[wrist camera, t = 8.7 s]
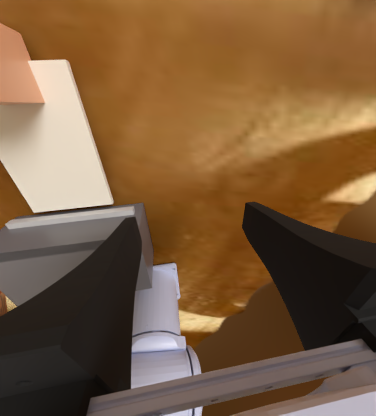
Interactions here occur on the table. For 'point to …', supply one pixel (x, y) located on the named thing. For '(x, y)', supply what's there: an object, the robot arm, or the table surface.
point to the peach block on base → (46, 132)
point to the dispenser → (62, 247)
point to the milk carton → (3, 304)
